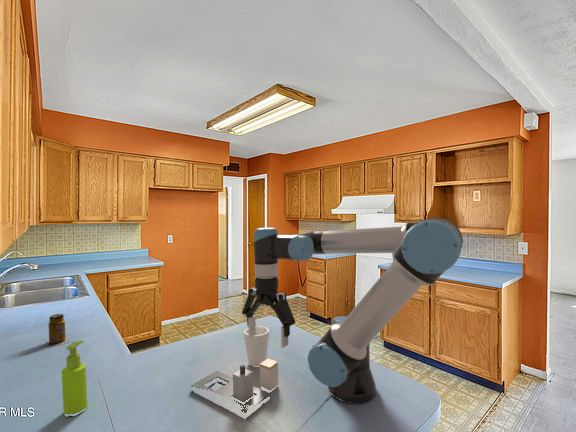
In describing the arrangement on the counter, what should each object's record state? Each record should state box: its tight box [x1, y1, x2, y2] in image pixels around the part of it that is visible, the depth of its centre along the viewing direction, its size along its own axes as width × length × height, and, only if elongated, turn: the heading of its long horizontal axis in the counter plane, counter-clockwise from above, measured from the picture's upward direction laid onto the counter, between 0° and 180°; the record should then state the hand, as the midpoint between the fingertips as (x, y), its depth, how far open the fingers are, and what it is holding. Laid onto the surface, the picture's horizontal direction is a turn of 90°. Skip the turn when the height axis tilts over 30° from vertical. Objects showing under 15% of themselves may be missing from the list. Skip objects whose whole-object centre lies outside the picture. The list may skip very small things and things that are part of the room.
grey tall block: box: [232, 364, 254, 402], centre depth 95 cm, size 4×4×11 cm
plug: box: [259, 358, 279, 390], centre depth 102 cm, size 4×4×9 cm
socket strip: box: [190, 370, 271, 413], centre depth 99 cm, size 24×11×2 cm, turn 54°
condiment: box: [46, 313, 69, 348], centre depth 142 cm, size 7×8×12 cm
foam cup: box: [243, 325, 270, 366], centre depth 118 cm, size 10×9×13 cm
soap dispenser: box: [61, 340, 88, 415], centre depth 94 cm, size 6×7×20 cm
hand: (267, 340), depth 102 cm, fingers open, 13 cm apart
